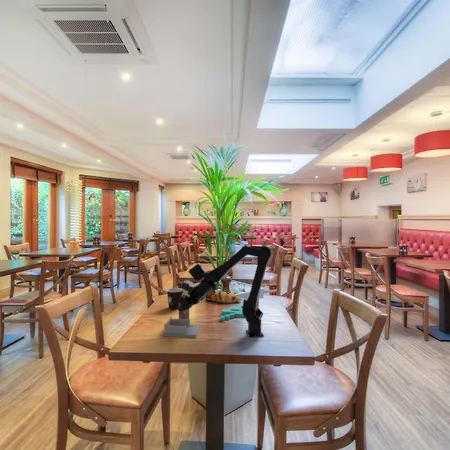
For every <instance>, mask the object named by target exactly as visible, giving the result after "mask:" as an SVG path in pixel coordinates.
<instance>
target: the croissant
mask: <svg viewBox="0 0 450 450" xmlns="http://www.w3.org/2000/svg"><path fill="white" fill-rule="evenodd" d="M228 293H229V294H227V293H226V292H223V291H222V289H221V290H219V292H214V293H213V294H214V295H212V296H211V299H210V301H212V302H214V301H216V303H219V302H222V304H229V303H231V304H232V303H233V304H234V303H240V302H242V298H241V297H239V296H238V295H236V294H234V293H233V292H228Z"/></svg>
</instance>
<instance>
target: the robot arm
mask: <svg viewBox="0 0 450 450" xmlns="http://www.w3.org/2000/svg"><path fill="white" fill-rule="evenodd" d="M274 253H275V251H274V248H273V247H272V246H271V245H269V244H265V245H262V246H261V245H260V246H259V245H258V246H257V245H249V244H246V245H243V246H241V248H240V249H239V250H238V251H237V252H236V253H235V254H233V255H232V256H231V257H230V258H229V259H227V260H226V261H225V262H223V263H222V264H221V265H219V266H217V267H215V268H214V269H212V270H206V269H205V268H204V267H203V265H202V264H201V263H200V262H198V263H196V265H194V266H193V267H191V268H190V269H189V270H188V271H187V272H188V273H189V275H190V276H191V278H192V279H193V280H194V281H195V282H199V283H198V284H197V285H196V284H195V283H193V282H192V281H190V280H188V279H186V280H184V281H183V282H182V283H181V284H180V286H181V287H180V289H182V290H184V291H186V292H187V294H188V295H187V294H186V295H185V294H183V295H184V296H183V295H182V297H180V298H179V299H178V301H179V302H180V304H181V306H180V307H179V309H177V312H178V313H179V312H181V311H184V310H188V309H189V310H190V309H191V308H192V307H193V306H195V305H197V304H199V303H200V302H202V301H204V300H205V299H206V297H207V295H208V293H210V291H211V290H214V292H215V291H216V290H218V289H219V286H218V285H219V284H218V282H220V281H221V280H223V279H224V278H225V277H226V275H228V273H229V272H230V270H231V269H233V268H234V267H235V266H236V265H237V264H238V263H240V261H242V260H243V259H244V258H246V257H247V256H252V257H256V270H255V274H254V277H253V280H252V285H251V287H250V291H249V295H246V296H245V297H244V299H243V302H242V305H241V306H242V308H243V309H242V308H241V309H242V313H243V315H244V316H245V317H244V318H245V319H246V322H247V329H246V330H245V333H246V334H247V336H248V337H249V338H258V337H259V338H260V337H264V336H265V335H264V333H263V332H262V318H263V315H264V312H263V311H262V310H261V309H260V308H259V307H260V293H261V289H262V287H263V282H264V278H265V274H266V271H267V267H268V265H269V264H270V262H271V259H272V257H273V256H274Z"/></svg>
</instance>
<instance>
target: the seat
mask: <svg viewBox="0 0 450 450" xmlns="http://www.w3.org/2000/svg"><path fill="white" fill-rule="evenodd" d="M200 328H201V325H199V324H198V325H197V324H194V325H193V324H191V319H190V318H189V319H179V318H172V316H171V315H170V316H169V317H168V318H167V319H166V320H165V322H164V323H163V335H162V336H163V337H171V338H172V337H173V338H174V337H175V338H197V336H198V334H199V331H200Z"/></svg>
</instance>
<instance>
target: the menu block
mask: <svg viewBox="0 0 450 450" xmlns="http://www.w3.org/2000/svg"><path fill="white" fill-rule="evenodd" d="M180 306H181V304H180V302H179V307H180ZM178 319H190V309H188V310H184V311H181V312H179V311H178Z"/></svg>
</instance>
